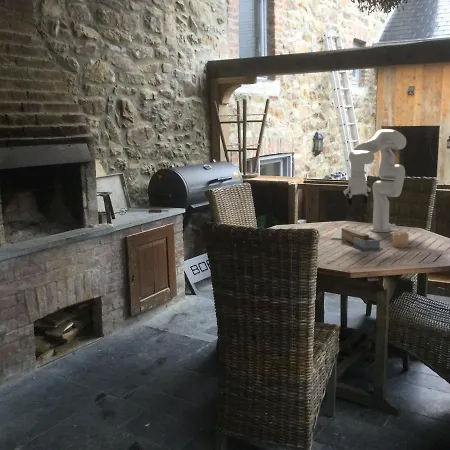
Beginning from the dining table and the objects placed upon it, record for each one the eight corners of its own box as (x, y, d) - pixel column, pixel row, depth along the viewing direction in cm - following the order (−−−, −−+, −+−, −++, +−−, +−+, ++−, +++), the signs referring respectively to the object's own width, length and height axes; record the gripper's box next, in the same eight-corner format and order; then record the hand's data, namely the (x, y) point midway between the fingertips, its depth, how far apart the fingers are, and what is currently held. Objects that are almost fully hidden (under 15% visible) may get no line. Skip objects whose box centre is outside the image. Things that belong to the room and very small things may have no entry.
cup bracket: (369, 243, 292) (369, 235, 291) (382, 249, 278) (383, 240, 278) (350, 245, 289) (350, 236, 288) (363, 251, 275) (363, 241, 274)
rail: (347, 237, 303) (347, 227, 301) (368, 245, 284) (368, 235, 283) (341, 238, 301) (341, 228, 300) (362, 246, 283) (362, 236, 282)
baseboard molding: (327, 239, 307) (348, 241, 302) (327, 235, 306) (348, 236, 302) (336, 230, 335) (355, 231, 331) (337, 225, 334) (355, 226, 330)
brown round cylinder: (402, 244, 290) (403, 231, 289) (411, 247, 282) (411, 234, 281) (389, 245, 288) (390, 232, 287) (398, 248, 280) (398, 235, 279)
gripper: (367, 172, 300) (367, 201, 304) (340, 174, 296) (340, 204, 300) (374, 173, 293) (374, 203, 297) (347, 176, 289) (347, 206, 293)
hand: (357, 203), depth 298 cm, fingers open, 9 cm apart
